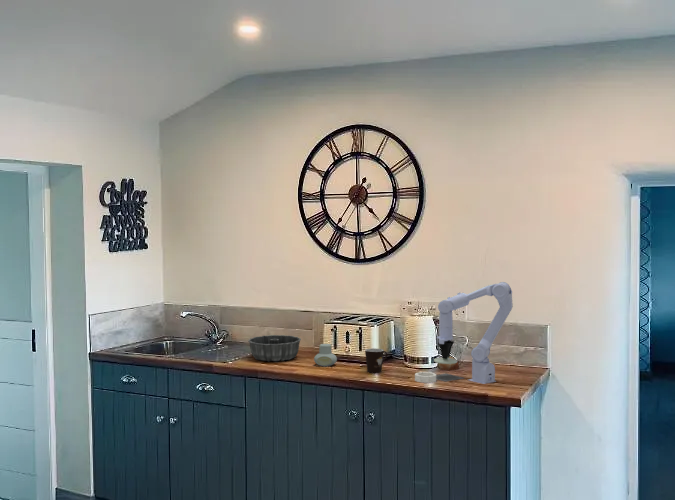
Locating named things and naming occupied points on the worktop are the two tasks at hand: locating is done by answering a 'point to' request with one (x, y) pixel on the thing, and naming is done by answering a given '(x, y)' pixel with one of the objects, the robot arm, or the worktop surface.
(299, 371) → the worktop surface
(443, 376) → the mat
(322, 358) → the air freshener
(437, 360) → the lid
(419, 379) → the ramekin
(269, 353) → the bundt pan
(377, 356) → the coffee mug
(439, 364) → the bread roll
